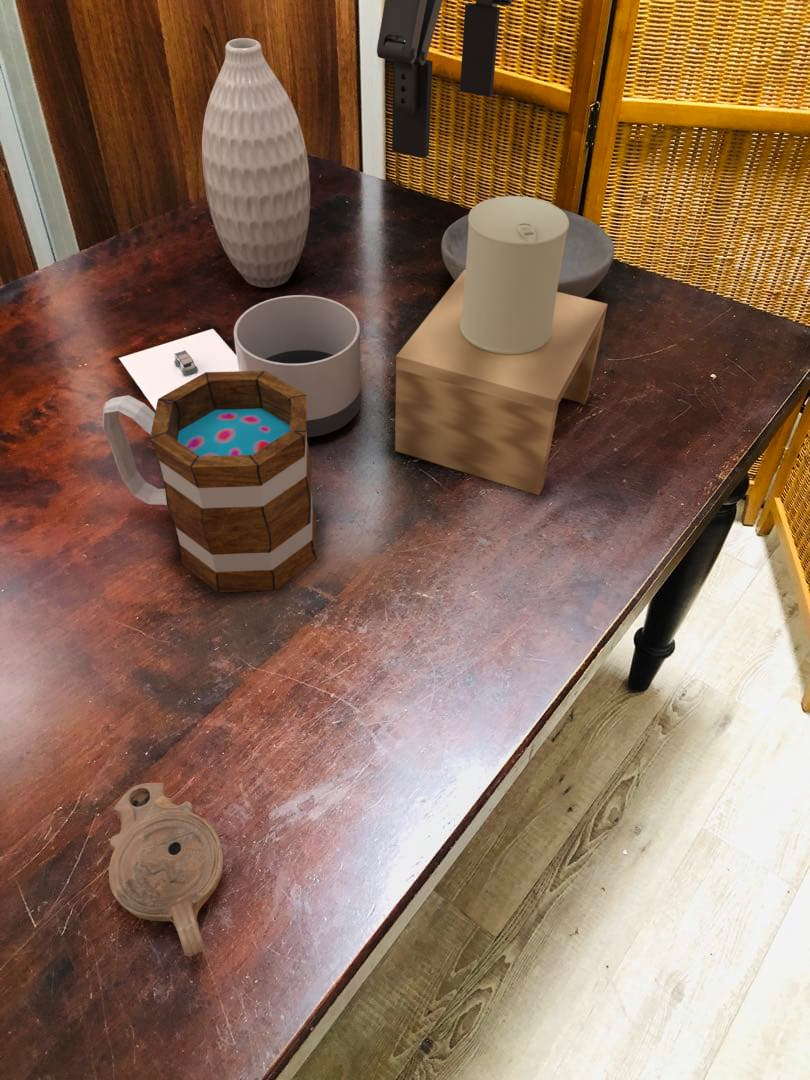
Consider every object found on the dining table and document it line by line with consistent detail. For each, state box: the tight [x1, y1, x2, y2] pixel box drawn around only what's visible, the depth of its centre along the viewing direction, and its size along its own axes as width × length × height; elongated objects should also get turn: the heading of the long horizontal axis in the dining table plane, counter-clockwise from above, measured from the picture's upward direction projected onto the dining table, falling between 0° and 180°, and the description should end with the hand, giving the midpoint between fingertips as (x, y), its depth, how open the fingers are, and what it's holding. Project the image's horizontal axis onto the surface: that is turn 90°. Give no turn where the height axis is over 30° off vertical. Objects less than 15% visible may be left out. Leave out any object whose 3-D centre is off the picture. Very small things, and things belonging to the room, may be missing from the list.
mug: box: [101, 371, 318, 593], centre depth 79 cm, size 20×14×15 cm
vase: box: [201, 37, 311, 289], centre depth 107 cm, size 13×13×28 cm
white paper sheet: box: [118, 328, 239, 411], centre depth 102 cm, size 12×12×2 cm
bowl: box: [440, 208, 615, 299], centre depth 112 cm, size 21×21×8 cm
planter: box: [233, 294, 362, 439], centre depth 94 cm, size 13×13×10 cm
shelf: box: [394, 270, 609, 496], centre depth 92 cm, size 16×18×12 cm
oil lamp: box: [108, 782, 224, 958], centre depth 59 cm, size 13×8×5 cm, turn 25°
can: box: [460, 195, 569, 355], centre depth 83 cm, size 9×9×12 cm
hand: (445, 121), depth 71 cm, fingers open, 13 cm apart
